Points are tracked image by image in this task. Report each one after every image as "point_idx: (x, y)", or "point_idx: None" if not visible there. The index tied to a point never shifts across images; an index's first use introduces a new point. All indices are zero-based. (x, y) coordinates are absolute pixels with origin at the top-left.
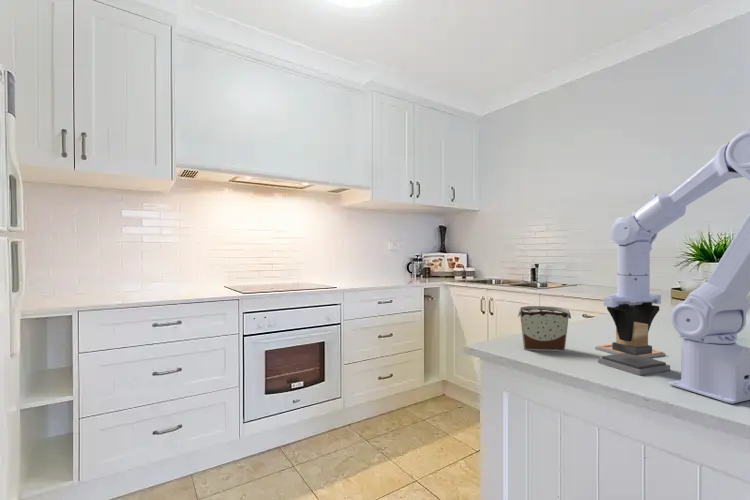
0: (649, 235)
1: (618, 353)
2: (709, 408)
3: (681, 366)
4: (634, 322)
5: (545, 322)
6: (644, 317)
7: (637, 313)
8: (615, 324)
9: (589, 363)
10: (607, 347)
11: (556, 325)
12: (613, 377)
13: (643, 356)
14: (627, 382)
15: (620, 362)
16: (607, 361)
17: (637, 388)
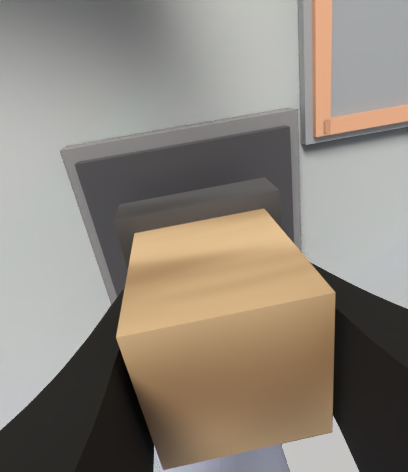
0: None
1: (302, 35)
2: None
3: (177, 467)
4: (289, 374)
5: None
6: (371, 465)
7: (401, 448)
8: (66, 366)
9: (8, 146)
10: None
11: None
12: (3, 328)
13: (367, 132)
14: (23, 371)
15: (106, 263)
16: (78, 205)
17: (19, 411)
